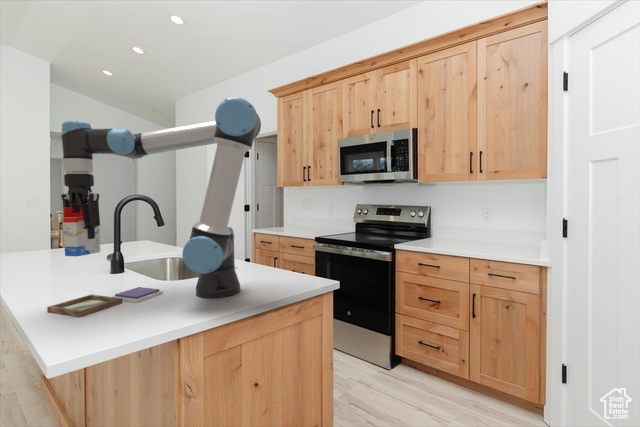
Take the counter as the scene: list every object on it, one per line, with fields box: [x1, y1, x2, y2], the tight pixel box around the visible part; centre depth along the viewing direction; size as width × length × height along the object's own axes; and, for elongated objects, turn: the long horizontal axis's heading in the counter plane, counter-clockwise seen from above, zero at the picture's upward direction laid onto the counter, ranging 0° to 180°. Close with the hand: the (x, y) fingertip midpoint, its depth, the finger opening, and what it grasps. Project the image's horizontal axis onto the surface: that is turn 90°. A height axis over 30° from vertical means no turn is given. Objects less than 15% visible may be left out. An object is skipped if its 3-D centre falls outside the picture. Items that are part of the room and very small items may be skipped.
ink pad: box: [111, 286, 164, 304], centre depth 123 cm, size 11×11×2 cm
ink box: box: [62, 207, 101, 257], centre depth 111 cm, size 8×5×15 cm, turn 167°
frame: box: [46, 293, 123, 318], centre depth 112 cm, size 14×14×2 cm
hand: (82, 249), depth 111 cm, fingers closed on ink box, 5 cm apart
